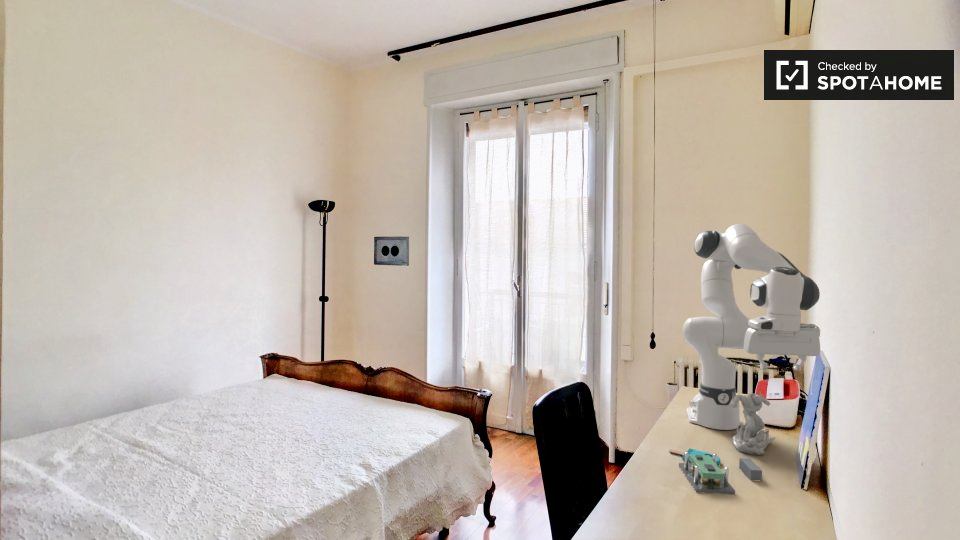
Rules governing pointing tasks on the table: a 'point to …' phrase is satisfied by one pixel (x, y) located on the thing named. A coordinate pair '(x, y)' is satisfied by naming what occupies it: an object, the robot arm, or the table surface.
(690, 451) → the toy
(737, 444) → the figurine
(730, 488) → the chassis
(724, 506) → the table surface
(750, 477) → the grey rectangular block
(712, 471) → the board
